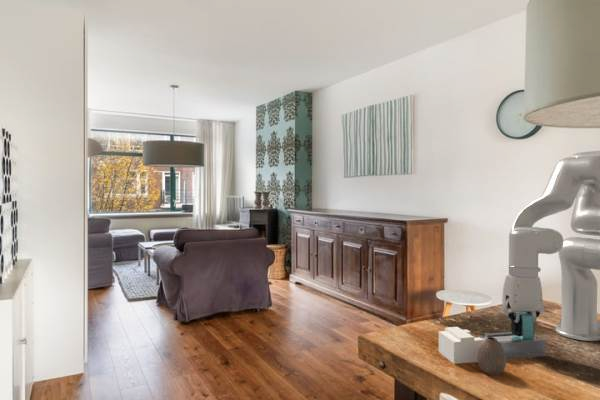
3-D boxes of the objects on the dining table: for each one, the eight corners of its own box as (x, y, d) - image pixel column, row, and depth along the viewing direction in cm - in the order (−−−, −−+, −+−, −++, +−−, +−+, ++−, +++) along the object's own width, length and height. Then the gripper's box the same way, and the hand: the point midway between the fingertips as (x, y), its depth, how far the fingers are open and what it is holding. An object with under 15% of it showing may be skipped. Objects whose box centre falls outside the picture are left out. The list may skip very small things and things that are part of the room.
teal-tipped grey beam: (523, 344, 120) (523, 310, 120) (534, 349, 116) (534, 315, 115) (480, 347, 118) (480, 313, 118) (489, 353, 114) (490, 318, 113)
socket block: (466, 349, 119) (466, 326, 119) (484, 361, 111) (484, 336, 111) (438, 351, 118) (438, 328, 118) (453, 363, 110) (454, 338, 109)
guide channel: (526, 345, 122) (526, 330, 122) (546, 355, 114) (546, 340, 114) (484, 348, 120) (484, 333, 120) (501, 359, 112) (501, 343, 112)
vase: (472, 366, 108) (472, 334, 108) (496, 365, 109) (497, 333, 108) (485, 378, 101) (485, 343, 101) (512, 377, 102) (512, 343, 101)
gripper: (538, 268, 122) (538, 328, 123) (489, 270, 119) (488, 331, 120) (558, 273, 115) (557, 337, 115) (506, 275, 112) (505, 341, 112)
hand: (522, 333), depth 117 cm, fingers closed on teal-tipped grey beam, 3 cm apart
